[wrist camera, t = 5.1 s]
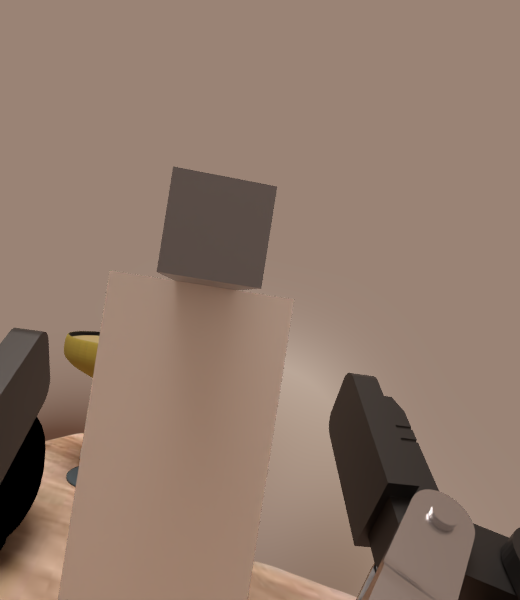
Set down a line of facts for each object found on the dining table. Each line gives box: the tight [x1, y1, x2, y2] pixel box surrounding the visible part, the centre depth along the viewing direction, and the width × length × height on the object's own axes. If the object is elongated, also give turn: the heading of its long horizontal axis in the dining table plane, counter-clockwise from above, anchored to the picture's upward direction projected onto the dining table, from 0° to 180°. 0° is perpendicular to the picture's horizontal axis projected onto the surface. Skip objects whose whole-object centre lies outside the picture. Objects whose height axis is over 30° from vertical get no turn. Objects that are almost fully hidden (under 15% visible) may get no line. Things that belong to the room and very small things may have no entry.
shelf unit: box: [58, 270, 294, 600], centre depth 38 cm, size 18×12×36 cm
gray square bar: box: [157, 167, 277, 290], centre depth 32 cm, size 30×4×4 cm, turn 8°
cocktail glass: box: [64, 331, 100, 486], centre depth 80 cm, size 18×18×25 cm
